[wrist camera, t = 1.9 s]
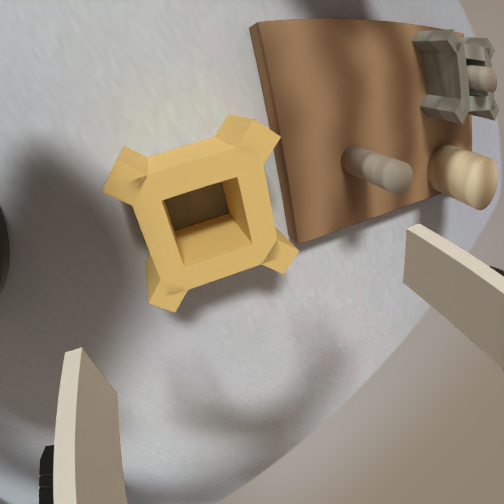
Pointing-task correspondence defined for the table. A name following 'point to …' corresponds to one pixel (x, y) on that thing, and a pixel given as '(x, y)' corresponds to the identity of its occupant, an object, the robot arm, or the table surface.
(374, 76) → the board
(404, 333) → the table surface
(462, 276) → the robot arm
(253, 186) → the tan notched block
